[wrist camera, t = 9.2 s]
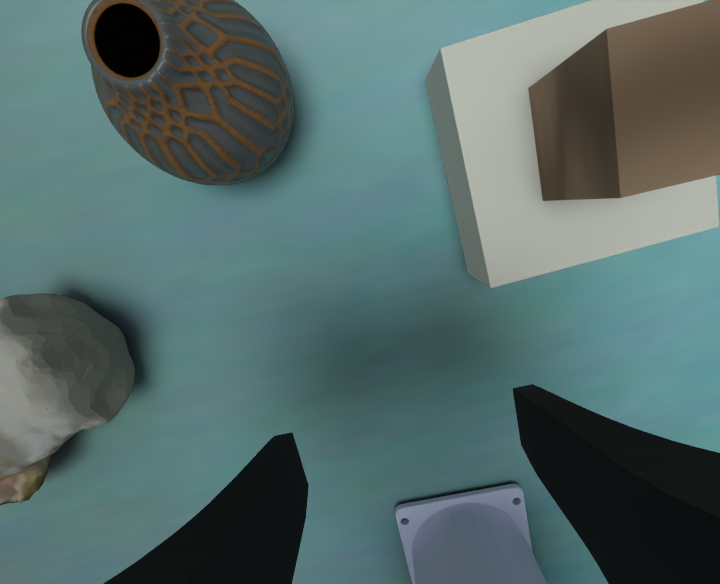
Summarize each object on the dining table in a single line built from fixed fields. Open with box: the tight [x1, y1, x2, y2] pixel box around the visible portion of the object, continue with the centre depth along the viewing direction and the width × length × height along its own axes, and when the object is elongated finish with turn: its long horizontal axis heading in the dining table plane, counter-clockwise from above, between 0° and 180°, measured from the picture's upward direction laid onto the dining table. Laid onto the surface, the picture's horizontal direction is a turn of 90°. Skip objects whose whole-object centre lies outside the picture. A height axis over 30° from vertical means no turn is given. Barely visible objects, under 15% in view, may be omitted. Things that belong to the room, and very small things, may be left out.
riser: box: [425, 0, 719, 288], centre depth 17 cm, size 10×10×4 cm
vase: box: [82, 0, 294, 185], centre depth 14 cm, size 7×7×9 cm
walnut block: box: [528, 0, 720, 201], centre depth 12 cm, size 4×4×5 cm
